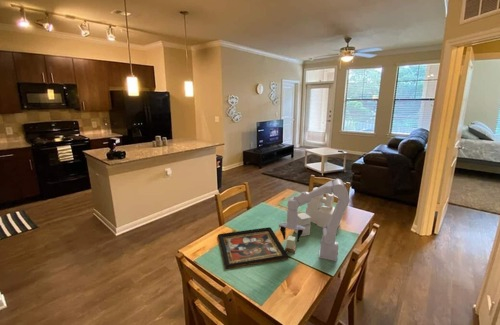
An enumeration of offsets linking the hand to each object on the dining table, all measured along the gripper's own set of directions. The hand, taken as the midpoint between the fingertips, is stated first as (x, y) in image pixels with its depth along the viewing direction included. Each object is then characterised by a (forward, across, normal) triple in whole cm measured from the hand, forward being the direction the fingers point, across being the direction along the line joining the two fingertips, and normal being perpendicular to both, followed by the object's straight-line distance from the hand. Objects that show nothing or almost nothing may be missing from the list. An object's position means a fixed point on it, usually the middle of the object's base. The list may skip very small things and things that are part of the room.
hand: (291, 239), depth 140 cm
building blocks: (+7, -15, -38) cm, 42 cm away
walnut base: (+7, 0, 0) cm, 7 cm away
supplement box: (+7, -4, -20) cm, 21 cm away
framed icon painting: (+7, +23, +5) cm, 24 cm away
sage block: (+4, 0, 0) cm, 5 cm away
